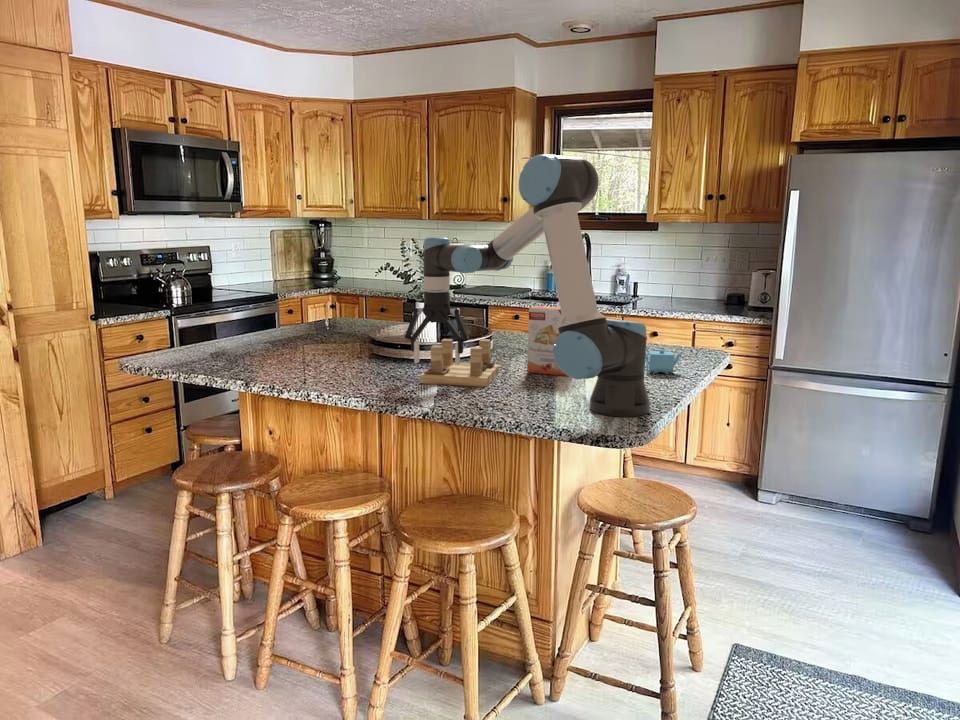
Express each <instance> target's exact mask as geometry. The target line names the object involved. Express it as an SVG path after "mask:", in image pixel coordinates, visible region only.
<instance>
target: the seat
mask: <svg viewBox="0 0 960 720" xmlns="http://www.w3.org/2000/svg"><path fill="white" fill-rule="evenodd" d="M440 346H443V372H431V366H430V367H428V368H427V369H426V370H425V371H423V372H422V373H421V374H420V376H419V377H420V378H419V379H420V384H428V385H429V384H431V385H432V384H433V385H447V386H448V385H450V386H468V387H469V386H470V387H487V388H488V386H489V385H490V384H491V382H492V381H494V379H495V378H496V377H497V376H498V375H499V373H500V364H495V361H494V360H492V361H491V362H490V363H489V367H487V368H486V369H485V370H482V357H483V347H479V346H472V347H471V348H470V349H469V350H470V351H469V352H470V355H469V356H470V359H469V360H470V362H460V364H459V365H455V362H454V339H453V338H443V339H441V340H440Z"/></svg>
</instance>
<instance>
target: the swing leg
mask: <svg viewBox="0 0 960 720" xmlns="http://www.w3.org/2000/svg"><path fill="white" fill-rule="evenodd" d="M491 342H492V340H491V339H487V338H486V339H484V338H481V339H480V340H479V342H478V344H479V345H478V347H483V357H482V370H485V369H486V368H487V367H489V363H490V362H491V357H492V356H491V352H492V348H491V347H492V345H491V344H492V343H491Z"/></svg>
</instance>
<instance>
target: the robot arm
mask: <svg viewBox="0 0 960 720" xmlns="http://www.w3.org/2000/svg"><path fill="white" fill-rule="evenodd" d="M518 177H519V178H518V191H519V195H520V197H521V198H522V200H524V201H525V203H527V204H528V205H531V206H532V207H530V208H529V209H528V210H527V211H526V212H525V213H523V214H522V215H521V216H520V217H518V219H516V220H515V221H514V222H512V223H511V224H510V225H509V226H508V227H507V228H506V229H504V230H503V231H502V232H500V234H498V235H497V236H496V237H495V238H493V239H492V240H491V241H490V242H488V243H486V244H463V245H461V244H460V245H459V244H451V243H450V238H449V237H442V236H441V237H439V236H437V237H436V236H435V237H433V236H431V237H426V238H424V241H423V248H422V249H423V251H422V253H423V255H422V256H423V257H422V258H423V289H424V290H425V291H424V292H423V307H419V306H416V307H413V310H412V317H411V319H410V322H409V324H408V327H407V330H406V333H405V334H404V339H406V340H409V341H410V350H411V352H413V356H414V357H413V359H414V360H413V361H414V362H413V363H414V364H418V363H419V362H420V340H418V338H419V336H421V334H422V332H423V331H424V329H425V328H426V326H427V325H428V324H429V323H434V324H435V323H438V324H442V323H443V324H444V326H446V327H447V329H448V330H449V332H450V333H451V334H452V336H453V337H454V339H455V340H456V342H455V343H454V347H455V348H454V355H455V359H454V361H455V362H454V363H455V365H459V364H460V363H461V354H463V352H464V342H467V341H469V340H470V336H469V333H468V330H467V328H466V326H465V323H464V320H463V317H462V315H461V309H460V308H459V307H457V308H451V306H450V299H451V298H450V294H451V293H450V292H449V290H450V285H451V284H450V283H451V282H450V279H451V278H450V272H452V273H453V272H455V273H460V274H473V273H475V272H488V271H489V272H490V271H494V272H495V271H502V270H506V269H508V268H509V267H511V265H512V262H513V260H514V257H515V256H517V255H518V254H519V253H521V252H522V251H523V250H524V249H526V247H528V246H529V245H531V244H532V243H533V242H535V241H536V240H537V239H539V238H540V237H541V236H542V235H544V236H545V237H544V238H545V241H546V246H547V251H548V256H549V260H550V267H551V271H552V275H553V279H554V283H555V289H556V294H557V298H558V303H559V307H560V309H561V313H562V321H561V323H560V324H559V326H558V330H559V336H558V337H557V339H556V340H555V342H556V343H555V344H554V347H553V354H554V358H555V361H556V364H557V365H558V367H559V368H560V370H561V371H562V372H563V373H565V374H566V375H567V376H566V377H569V378H571V379H574V380H575V379H576V380H584V379H586V380H588V379H593V378H596V377H597V379H596V383H595V385H594V388H593V390H592V392H591V393H592V394H591V396H590V397H589V409H590V410H591V411H593V412H595V413H597V414H601V415H604V416H610V417H625V418H626V417H630V418H631V417H639V416H644V415H646V414H648V413H650V410H651V408H650V406H651V402H650V397H649V394H648V391H647V387H646V383H645V367H646V359H645V355H646V354H647V353H646V351H647V350H646V349H647V340H648V336H647V327H646V325H645V324H644V323H643V322H641V321H639V322H638V321H632V320H623V319H614V318H607V317H606V315H604V314H602V313H601V312H600V311H599V310H598V306H597V300H596V295H595V291H594V287H593V286H594V285H593V281H592V277H591V273H590V268H589V267H590V266H589V262H588V258H587V253H586V248H585V243H584V237H583V234H582V229H581V225H580V220H579V216H578V214H579V212H580V211H582V210H583V209H584V208H585V207H586V206H588V205H589V204H590V202H591V201H593V200H594V198H595V196H596V194H597V193H598V190H599V182H600V180H599V174H598V172H597V169H596V168H595V166H594V165H593V164H592V163H591V162H590V161H588V160H587V159H585V158H583V157H579V156H578V157H577V156H565V155H556V154H553V153H548V154H537V155H534V156H533V157H531V158H530V159H528V160H527V162H526V163H525V164H524V165H523V167H522V171H520V174H519V176H518ZM422 313H423V314H424V319H422V321H421V323H420V325H419V326H418V328H417V329H416V330H415V327H416V324H417V322H418V320H419V317H420V315H421V314H422ZM451 314H452V316H453V317H454V319H455V321H456V324H457V326H458V329H459V331H460V332H459V331H458V329H457V328H456V327H455V325H454V324H453V322H452V320H451V318H450V317H449V316H450V315H451ZM414 330H415V332H414Z"/></svg>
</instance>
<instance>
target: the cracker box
mask: <svg viewBox="0 0 960 720" xmlns="http://www.w3.org/2000/svg"><path fill="white" fill-rule="evenodd" d="M561 321H562V313H561V309H560V306H544V305H534V306H530V307H529V308H528V327H527V328H528V331H527V332H528V333H527V336H528V338H527V339H528V340H527V369H526V370H527V373H531V374H541V375H552V376H562V377H563V376H565V377H568V376H567V375H566V374H565V373H563V372H562V371H561V370H560V368H559V367H558V365H557V364H556V361H555V358H554V354H553V347H554V344H555V343H556V342H555V340H556V339H557V337H558V336H559V330H558V326H559V324H560V323H561Z"/></svg>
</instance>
